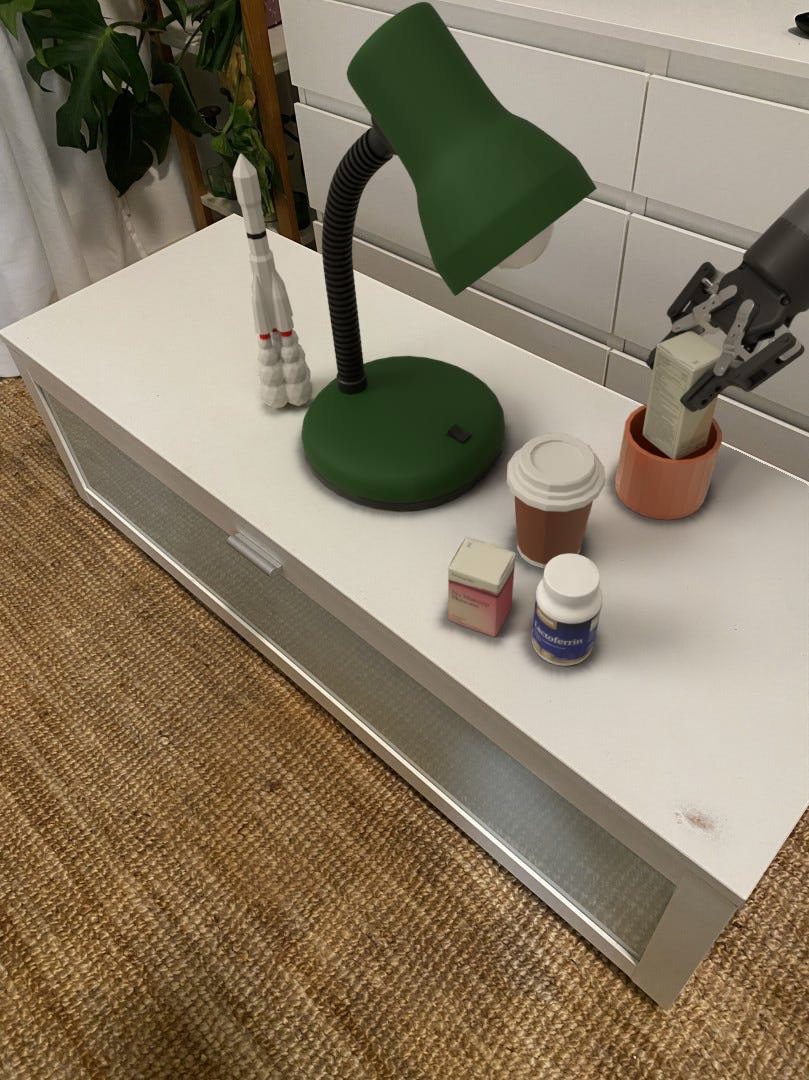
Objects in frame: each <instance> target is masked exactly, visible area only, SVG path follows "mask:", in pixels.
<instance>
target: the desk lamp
mask: <svg viewBox="0 0 809 1080" xmlns="http://www.w3.org/2000/svg"><path fill="white" fill-rule="evenodd" d="M346 78H347V81H348V84H349V85H350V87H351V88H352V89H353V91H354V93H355V94H356V96H357V97H358V99H359V100H360V102H361V103H362V104H363V107H365V109H366V111H367V112H368V113H369V114H370V120H371V121H370V122H371V125H372V126H371V127H369V128H368V129H367V130H366V131H365V132H363V133H362V134H361V135H360V136H359V137H358V138H357V139H356V140H355V141H354V142H353V144H352V145H351V146H350V148H348V150H347V151H346V152H345V154H344V155H343V157H342V158H341V160H340V161H339V163H338V165H337V167H336V169H335V171H334V174H333V176H332V178H331V181H330V185H329V189H328V191H327V196H326V201H325V207H324V211H323V212H324V214H323V219H322V220H323V221H322V231H321V258H322V267H323V275H324V277H323V278H324V283H325V290H326V297H327V304H328V305H327V306H328V313H329V319H330V327H331V334H332V341H333V347H334V356H335V363H336V370H337V373H336V377H335V378H334V379H333V380H331V381H330V382H329V383H328V384H326V385H325V386H324V387H323V388H322V389H321V390H319V392H318V393H317V394H316V396H315V397H314V399H313V400H312V401H311V402H310V404H309V406H308V408H307V410H306V412H305V414H304V416H303V420H302V428H301V436H300V437H301V443H302V448H303V452H304V457H305V461H306V464H307V466H308V467H309V469H310V471H311V472H312V475H314V476H315V477H316V479H318V480H319V482H321V483H322V484H323V485H324V486H325V487H326V488H328V489H329V490H331V491H332V492H334V493H335V494H337V495H338V496H340V497H342V498H344V499H347V500H349V501H351V502H354V503H356V504H358V505H361V506H366V507H369V508H373V509H378V510H386V511H394V512H405V511H408V512H409V511H419V510H424V509H429V508H434V507H437V506H440V505H442V504H445V503H447V502H450V501H452V500H456V499H457V498H458V497H460V496H462V495H463V494H465V493H467V492H468V491H470V490H472V489H473V488H475V486H476V485H478V484H479V483H480V482H482V481H483V480H484V479H486V477H487V476H488V474H489V473H490V472H491V471H492V470H493V468H494V467H495V466H496V464H497V462H498V460H499V458H500V457H501V455H502V451H503V447H504V444H505V439H506V437H505V436H506V435H505V434H506V424H505V415H504V409H503V407H502V405H501V402H500V400H499V398H498V396H497V395H496V393H495V392H494V391H493V390H492V389H491V388H490V387H489V385H487V383H485V382H484V381H483V380H482V379H480V378H479V377H478V376H476V375H474V374H473V373H471V372H470V371H468V370H466V369H464V368H462V367H460V366H458V365H455V364H452V363H450V362H446V361H443V360H440V359H434V358H430V357H426V356H417V355H416V356H415V355H395V356H388V357H382V358H377V359H374V360H370V361H367V362H365V363H364V354H363V353H364V352H363V345H362V336H361V335H362V334H361V328H360V319H359V310H358V303H357V302H358V300H357V292H356V284H355V282H356V281H355V273H354V272H355V271H354V261H353V260H354V259H353V238H354V229H355V225H356V224H355V223H356V219H357V214H358V209H359V204H360V201H361V198H362V195H363V193H364V190H365V188H366V187H367V185H368V183H369V182H370V181H371V179H372V177H373V176H374V175H375V174H376V173H377V172H378V171H379V170H381V168H382V167H384V165H386V164H387V163H388V162H390V161H391V160H392V159H393V157H394V156H397V158H398V159H399V160H400V162H401V163H402V165H403V167H404V168H405V170H406V172H407V173H408V175H409V178H410V180H411V182H412V184H413V187H414V190H415V193H416V203H417V212H418V217H419V220H420V225H421V228H422V232H423V235H424V239H425V242H426V246H427V248H428V251H429V254H430V257H431V261H432V264H433V267H434V268H435V270H436V272H437V273H438V275H439V276H440V277H441V279H442V280H443V282H444V283H445V285H446V286H447V287H448V289H449V291H450V292H451V293H452V295H453V296H454V297H456V296H458V295H459V294H461V293H462V292H463V291H465V290H466V289H468V288H469V287H470V286H472V285H473V284H474V283H475V282H477V281H478V280H480V279H481V278H483V277H484V276H485V275H486V274H488V273H489V272H491V271H492V270H493V269H495V268H498V269H500V270H519V269H521V268H524V267H526V266H528V265H530V264H532V263H534V262H536V261H537V260H538V259H539V258H540V257H541V256H542V255H543V253H544V252H545V251H546V250H547V248H548V247H549V245H550V242H551V239H552V237H553V234H554V229H555V222H556V221H557V220H559V219H560V218H562V217H563V216H564V215H565V214H566V213H568V212H569V211H570V210H572V209H573V208H574V207H575V206H577V205H578V204H580V203H581V202H583V200H585V199H586V198H587V197H588V196H590V195H591V194H592V193H594V192H595V191H596V190H597V189H598V188H597V185H596V184H595V182H594V181H593V179H592V178H591V176H590V175H589V174H588V173H589V172H587V170H586V169H585V167H584V166H583V164H582V162H581V161H580V159H579V158H578V156H576V155H575V154H574V152H571V151H570V150H569V149H568V148H567V147H566V146H564V145H563V144H561V142H559V141H558V140H557V139H555V138H554V137H552V136H551V135H550V134H548V132H546V131H545V130H543V129H542V128H540V127H538V125H536V124H535V123H533V122H531V121H529V120H528V119H526V118H523V117H521V116H519V115H516V114H514V113H512V112H511V111H509V110H508V109H507V108H506V107H505V106H504V105H503V104H502V103H501V102H500V100H499V99H498V97H496V95H495V94H494V93H493V91H492V90H491V89H490V88H489V86H488V85H487V84H486V82H485V80H483V78H482V77H481V75H480V74H479V72H478V71H477V69H476V68H475V66H474V65H473V64H472V62H471V60H470V59H469V58H468V55H466V53H465V52H464V49H462V47H461V46H460V44H459V42H458V41H457V39H456V38H455V36H454V35H453V34H452V32H451V31H450V29H449V28H448V26H447V25H446V23H445V22H444V20H443V18H442V17H441V16H440V14H439V13H438V12H437V10H436V9H435V7H434V6H433V5H432V4H431V3H430V2H428V1H420V2H416V3H413V4H411V5H409V6H407V7H405V8H403V9H402V10H400V11H399V12H397V13H396V14H394V15H393V16H392V17H390V18H389V19H387V20H386V21H385V22H384V23H382V25H380V26H379V27H378V28H376V30H375V31H373V33H371V35H370V36H369V37H368V38H367V39H366V40H365V42H364V43H363V44H361V46H360V47H359V49H358V50H357V51H356V52H355V54H354V55H353V57H352V58H351V60H350V61H349V64H348V66H347V70H346Z"/></svg>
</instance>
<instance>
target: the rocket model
mask: <svg viewBox="0 0 809 1080" xmlns="http://www.w3.org/2000/svg"><path fill="white" fill-rule="evenodd" d="M257 171H258V170H257V169H256V167H255V166H254V165H253V164H252V163H251V162H250V161H249V160H248V159H247V157H246V156H245V155H244V154H243V153H240V154H239V155H238V158H237V160H236V163H235V166H234V168H233V171H232V178H233V184H234V188H235V192H236V197H237V202H238V204H239V205H240V208H241V211H242V212H241V213H242V218H243V223H244V227H245V232H246V233H245V234H246V238H247V241H248V242H247V243H248V247H249V251H250V253H249V263H250V267H251V269H250V270H251V273H252V280H251V285H250V287H251V305H252V314H253V315H252V316H253V322H254V324H253V325H254V331H255V334H258V338H257V344H258V347H259V349H258V355H257V362H258V377H259V381H260V384H259V385H260V386H259V387H260V389H259V394H260V396H261V398H262V400H263V401H264V404H265V405H267V406H269V407H271V408H273V409H275V410H277V409H280V408H284V407H286V405H287V404H288V403H289V404H291V405H294V406H297V407H300V406H302V405H304V404H306V403H307V402H309V400H310V399H311V397H312V391H313V385H312V382H311V369H310V367H309V365H308V364H307V362H306V351H304V348H303V346H302V345H301V344H299V336H298V334H297V332H296V330H294V328H295V324H294V321H293V316H294V312H293V308H292V305H291V301H290V297H289V295H288V292H287V288H286V284H285V282H284V280H283V279H282V276H281V275H280V274H279V272H278V270H277V269H276V263H275V259H274V253H273V251H272V249H270V244H269V240H268V234H267V228H266V227H267V226H266V223H265V218H264V213H263V207H262V192H261V188H260V187H261V186H260V182H259V181H260V180H259V176H258V172H257Z"/></svg>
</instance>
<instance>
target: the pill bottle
mask: <svg viewBox="0 0 809 1080" xmlns="http://www.w3.org/2000/svg"><path fill="white" fill-rule="evenodd" d="M542 576H543V577H542V578H541V579H540V581H539V583H538V584H537V587H536V591H535V597H534V598H535V599H534V609H533V616H532V617H533V618H532V627H531V643H532V647H533V648H534V650H535V652H536V654H538V656H539V657H541V658H542V659H543V660H545V661H546V662H548V663H551V664H553V665H557V666H567V667H568V666H573V665H577V664H579V663H581V662H583V661H584V660H586V659H587V658H588V657H589V656H590V655H591V653H592V651H593V649H594V646H595V641H596V637H597V632H598V628H599V627H598V626H599V621H600V615H601V611H602V606H603V592H602V588H601V587H600V584H601V573H600V570H599V568H598V567H597V565H596V564H595V563H594V561H592V560H591V559H589V558H588V557H586V556H583V555H581V554H562V555H558V556H556V557H554V558H553V559H551V560H550V561H549V562H548V563H547V565H546V567H545V568H544V571H543V575H542Z"/></svg>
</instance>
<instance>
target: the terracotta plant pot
mask: <svg viewBox="0 0 809 1080" xmlns="http://www.w3.org/2000/svg"><path fill="white" fill-rule="evenodd" d="M647 404H648V403H647ZM647 404H643V405H641V406H639V407H637V408H636V409H634V410H633V411H632V412H631V413H630V414H629V415H628V417H627V418H626V420H625V421H624V428H623V434H622V439H621V444H620V450H619V451H620V452H619V457H618V462H617V467H616V474H615V481H614V486H615V491H616V493H617V496H618V498H619V499H620V501H621V502H622V503H623V504H624V505H625V506H626V507H627V508H629V509H630V510H632V511H633V512H635V513H637V514H638V515H641V516H644V517H646V518H651V519H655V520H665V521H666V520H667V521H669V520H678V519H682V518H685V517H688V516H690V515H692V514H694V513H695V512H696V511H698V510H699V509H700V508H701V506H703V504H704V502H705V500H706V497H707V494H708V491H709V489H710V484H711V481H712V478H713V474H714V470H715V467H716V463H717V460H718V456H719V453H720V450H721V447H722V443H723V431H722V429H721V426H720V425H719V423H718V421H717V420H716V419H715V418H714V417H713V418H712V423H711V427H710V431H709V435H708V440H707V444H706V446H704V447H702V448H700V449H698V450H696V451H695V452H693V453H691V454H689V455H687V456H684V457H682V458H680V459H678V460H674V459H672V458H670V457H669V456H668V455H666V454H665V453H664V452H662V451H661V450H660V449H659V448H658V447H656V446H655V445H654V444H652V443H651V442H650V441H649V440H648V439H646V438H645V437H644V436H643V428H644V422H645V416H646V410H647Z"/></svg>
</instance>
